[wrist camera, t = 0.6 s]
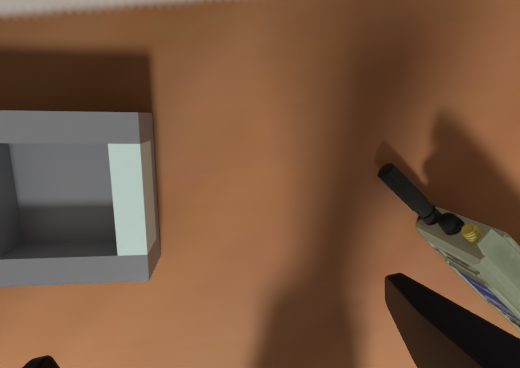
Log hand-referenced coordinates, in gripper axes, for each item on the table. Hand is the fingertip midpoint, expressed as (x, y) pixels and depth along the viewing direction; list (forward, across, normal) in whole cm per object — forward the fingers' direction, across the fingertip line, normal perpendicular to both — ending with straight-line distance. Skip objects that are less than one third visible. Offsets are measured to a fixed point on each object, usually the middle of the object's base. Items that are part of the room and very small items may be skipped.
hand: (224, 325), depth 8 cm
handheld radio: (+13, -18, +14) cm, 26 cm away
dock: (+14, +10, 0) cm, 17 cm away
